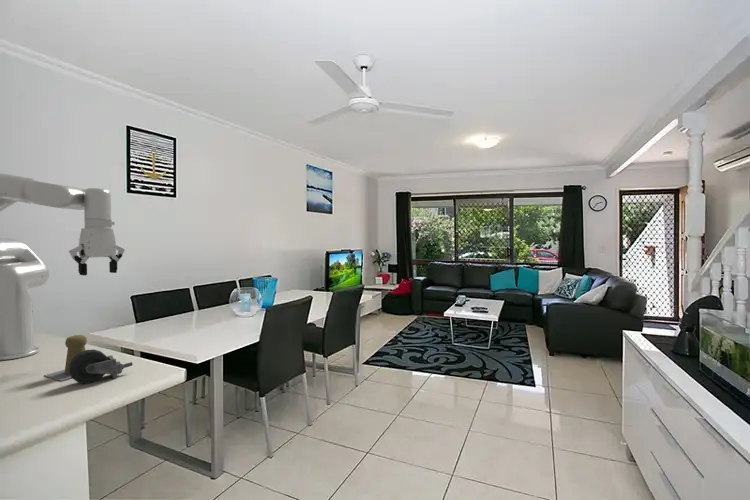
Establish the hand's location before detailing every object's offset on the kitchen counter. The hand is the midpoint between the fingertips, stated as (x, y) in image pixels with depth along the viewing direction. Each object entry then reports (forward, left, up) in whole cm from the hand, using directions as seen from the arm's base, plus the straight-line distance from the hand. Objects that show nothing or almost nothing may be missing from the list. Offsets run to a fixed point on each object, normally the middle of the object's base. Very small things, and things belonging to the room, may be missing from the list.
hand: (98, 273), depth 135 cm
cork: (+13, -14, -28) cm, 34 cm away
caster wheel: (+25, -14, -28) cm, 40 cm away
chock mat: (+12, -15, -28) cm, 34 cm away
